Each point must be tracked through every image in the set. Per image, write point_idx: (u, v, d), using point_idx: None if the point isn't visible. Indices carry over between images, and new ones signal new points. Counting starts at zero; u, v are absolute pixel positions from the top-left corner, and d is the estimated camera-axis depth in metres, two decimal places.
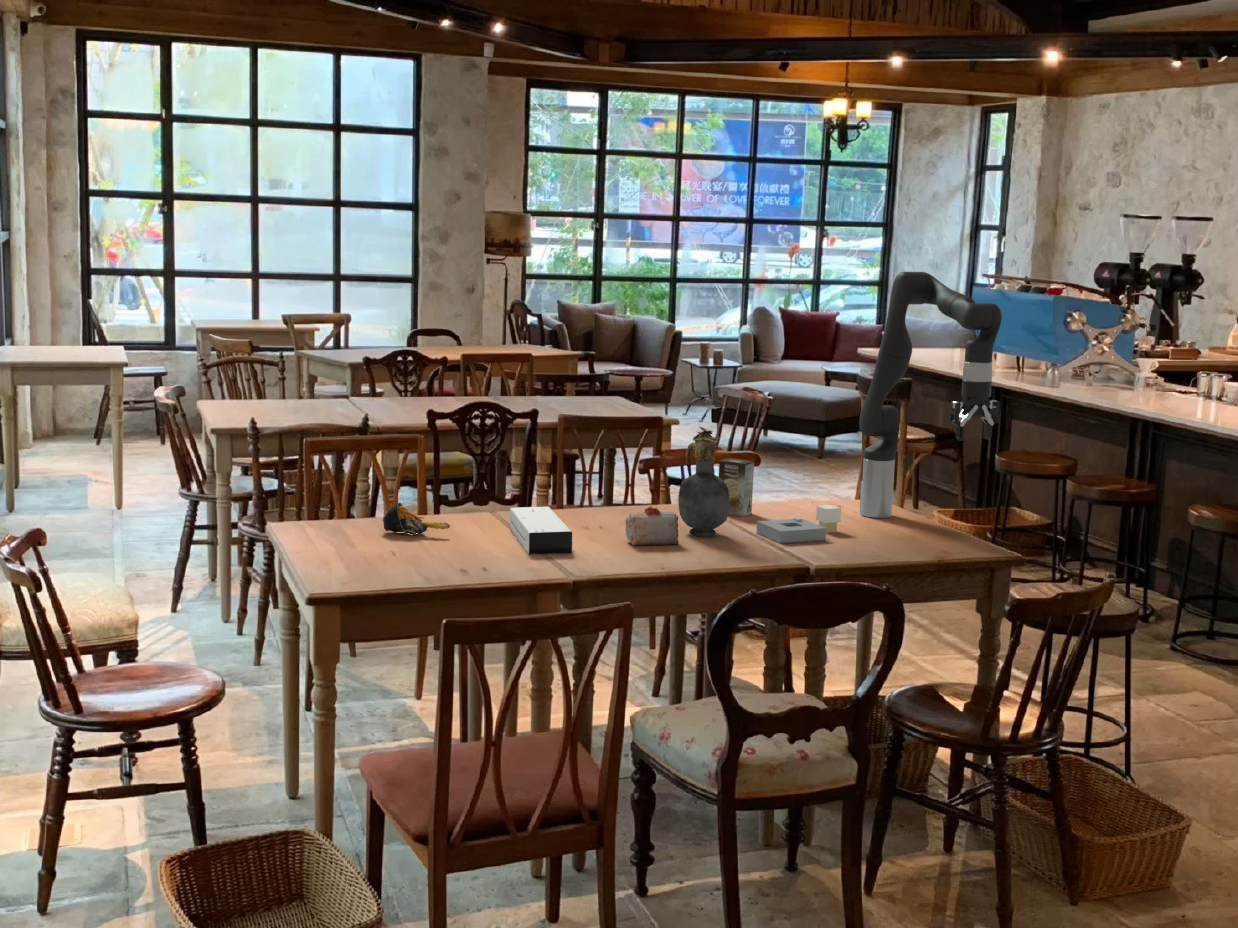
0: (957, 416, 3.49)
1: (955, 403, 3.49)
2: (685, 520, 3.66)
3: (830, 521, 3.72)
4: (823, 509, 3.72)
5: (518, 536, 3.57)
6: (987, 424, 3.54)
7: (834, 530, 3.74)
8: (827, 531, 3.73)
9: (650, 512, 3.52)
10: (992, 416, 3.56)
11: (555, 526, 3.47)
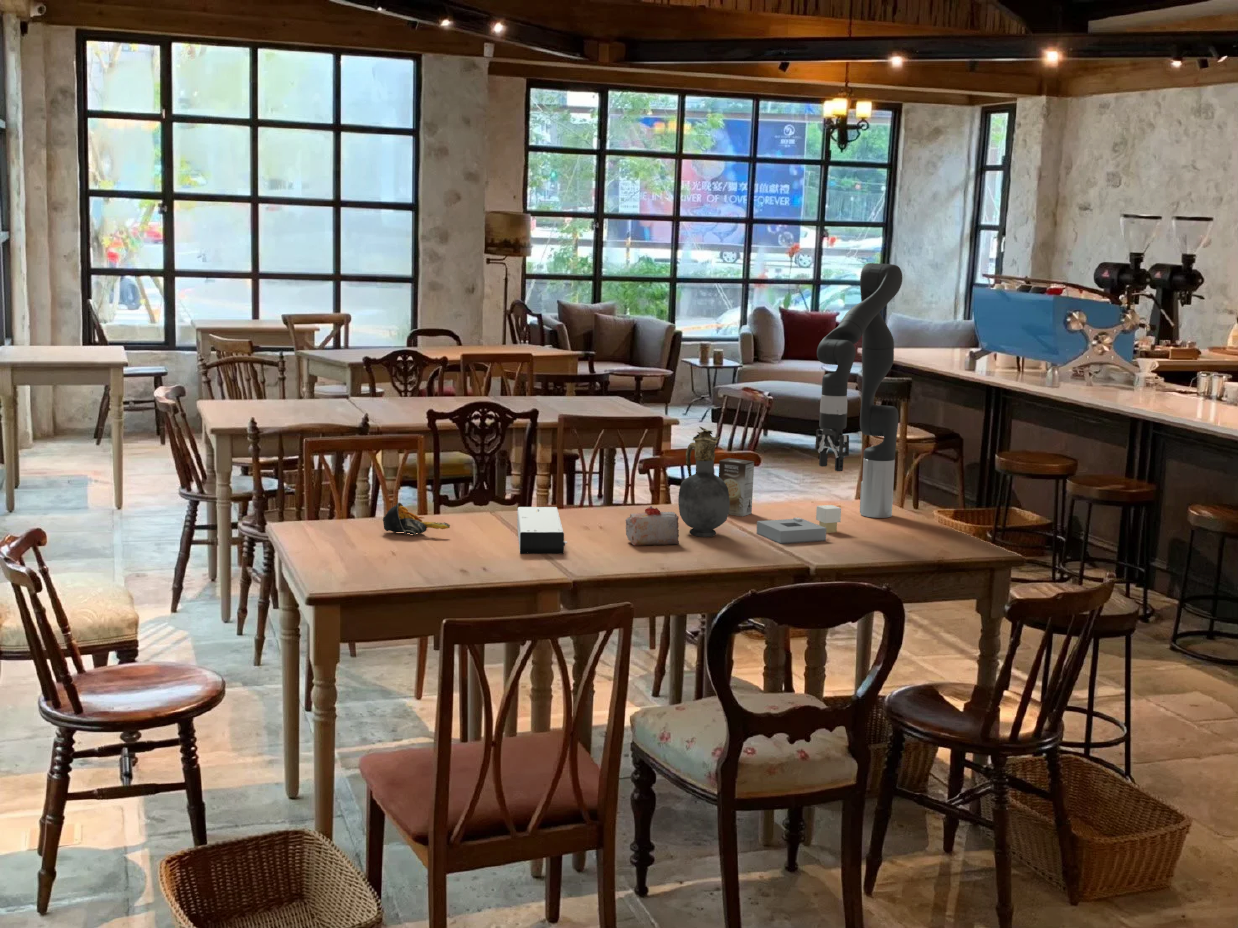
0: None
1: (846, 436, 3.65)
2: (685, 520, 3.66)
3: (830, 521, 3.72)
4: (823, 509, 3.72)
5: (518, 535, 3.57)
6: (824, 452, 3.76)
7: (834, 530, 3.74)
8: (827, 531, 3.73)
9: (650, 512, 3.52)
10: None
11: (550, 526, 3.46)
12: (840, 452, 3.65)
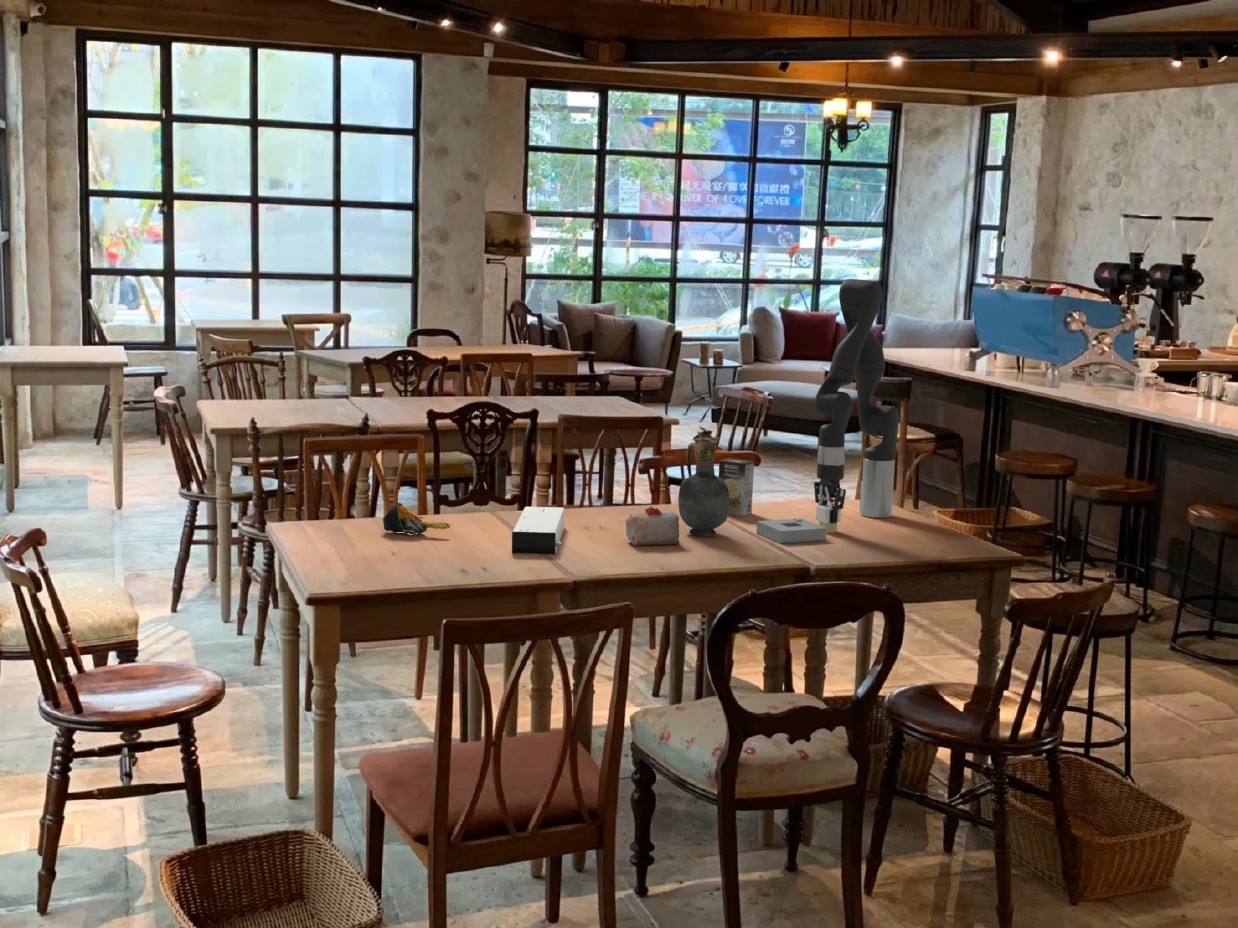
0: None
1: (843, 491, 3.67)
2: (685, 520, 3.66)
3: None
4: (823, 509, 3.72)
5: None
6: None
7: (834, 530, 3.74)
8: (827, 531, 3.73)
9: (651, 512, 3.52)
10: None
11: (545, 526, 3.46)
12: (834, 505, 3.69)
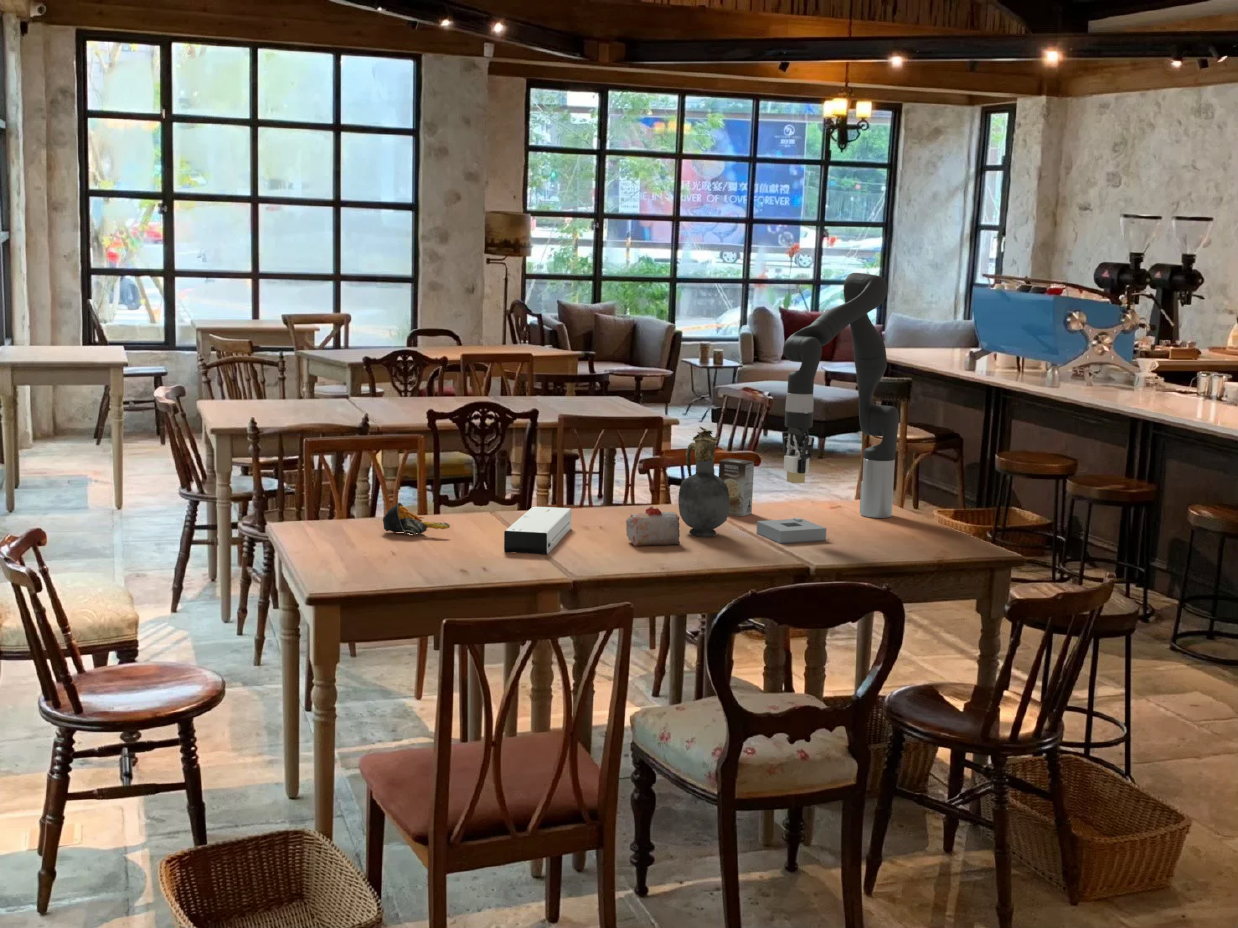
0: None
1: (811, 439, 3.56)
2: (685, 520, 3.66)
3: None
4: (791, 458, 3.61)
5: None
6: None
7: (802, 480, 3.63)
8: (795, 481, 3.62)
9: (651, 512, 3.52)
10: None
11: (540, 526, 3.46)
12: (802, 453, 3.58)
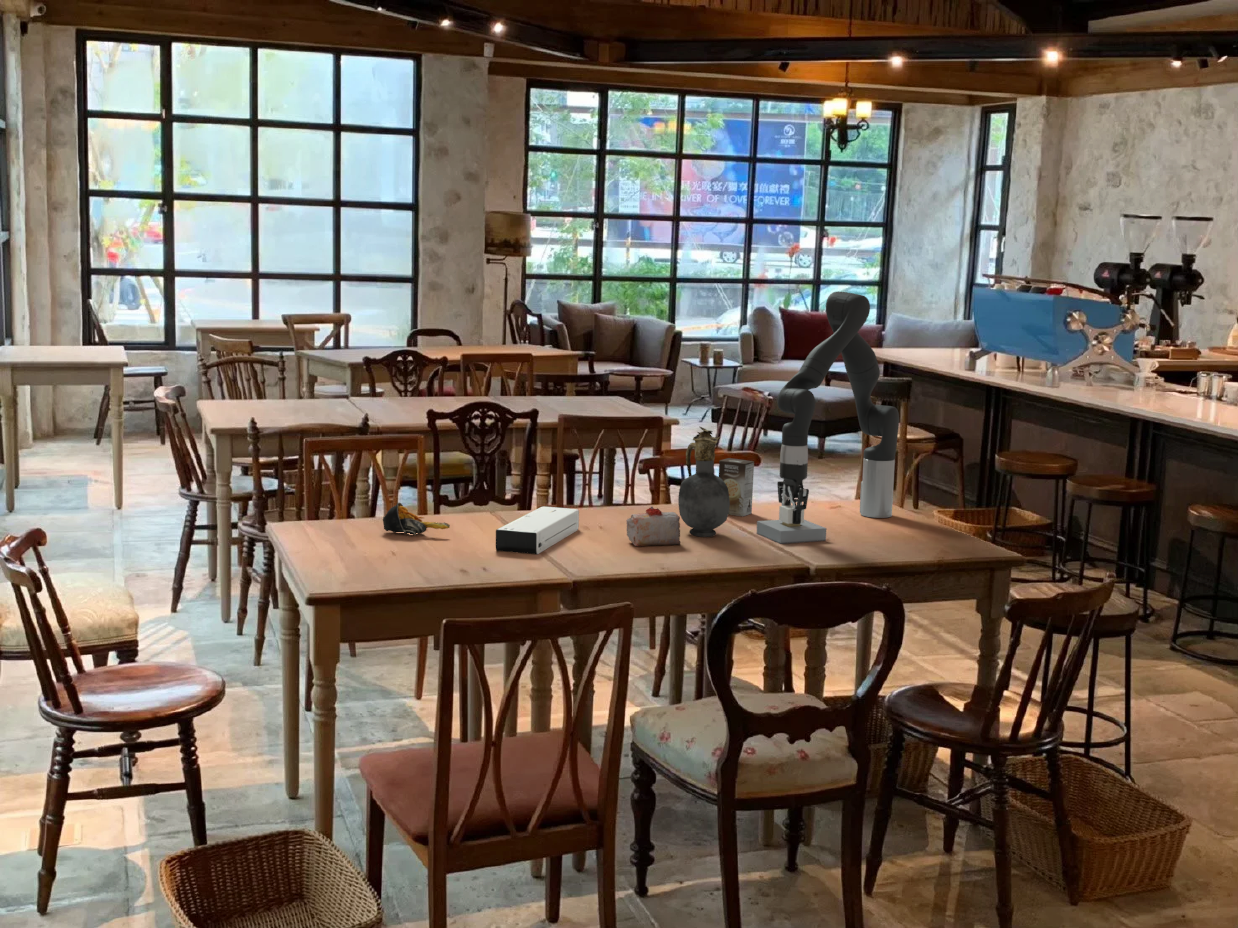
0: None
1: (806, 491, 3.58)
2: (685, 520, 3.66)
3: None
4: (786, 509, 3.63)
5: None
6: (787, 505, 3.68)
7: None
8: None
9: (652, 513, 3.52)
10: None
11: (533, 526, 3.46)
12: (797, 505, 3.60)
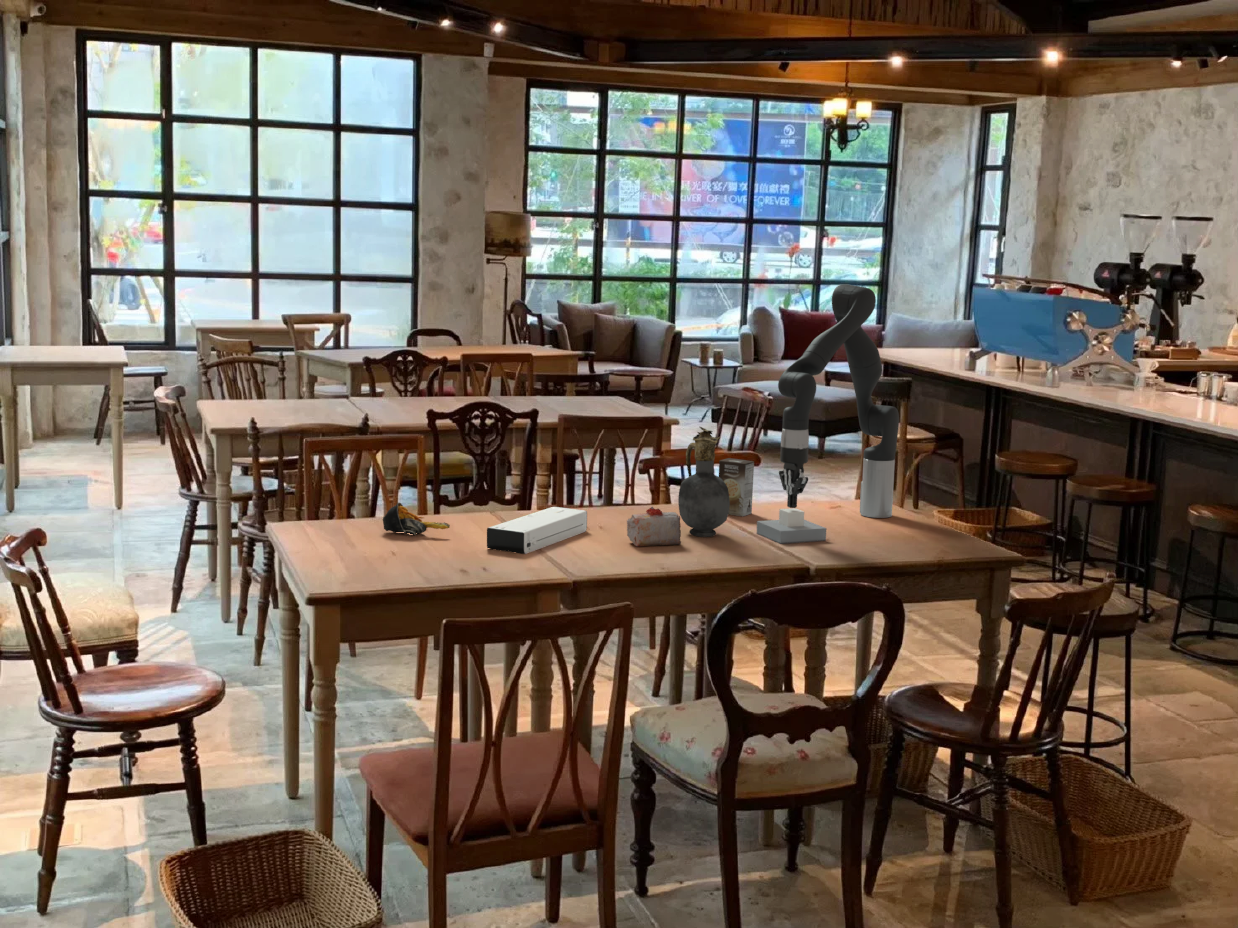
0: None
1: (805, 480, 3.59)
2: (685, 520, 3.66)
3: (793, 525, 3.63)
4: (786, 512, 3.63)
5: None
6: None
7: None
8: None
9: (653, 513, 3.51)
10: None
11: (526, 526, 3.46)
12: (793, 489, 3.61)
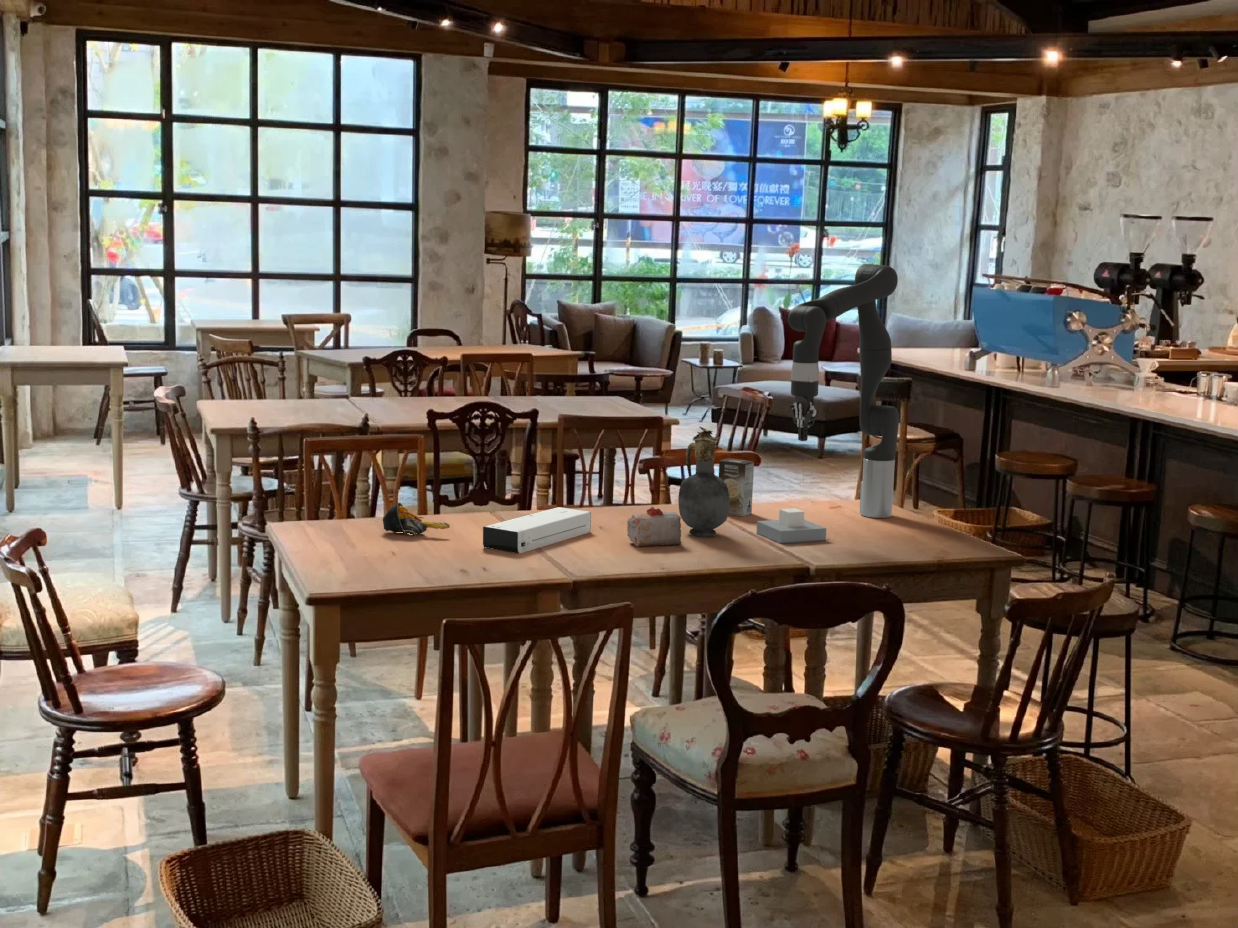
0: None
1: (816, 412, 3.63)
2: (685, 520, 3.66)
3: (793, 525, 3.63)
4: (786, 512, 3.63)
5: None
6: None
7: None
8: None
9: (653, 513, 3.51)
10: None
11: (522, 526, 3.46)
12: (804, 422, 3.66)
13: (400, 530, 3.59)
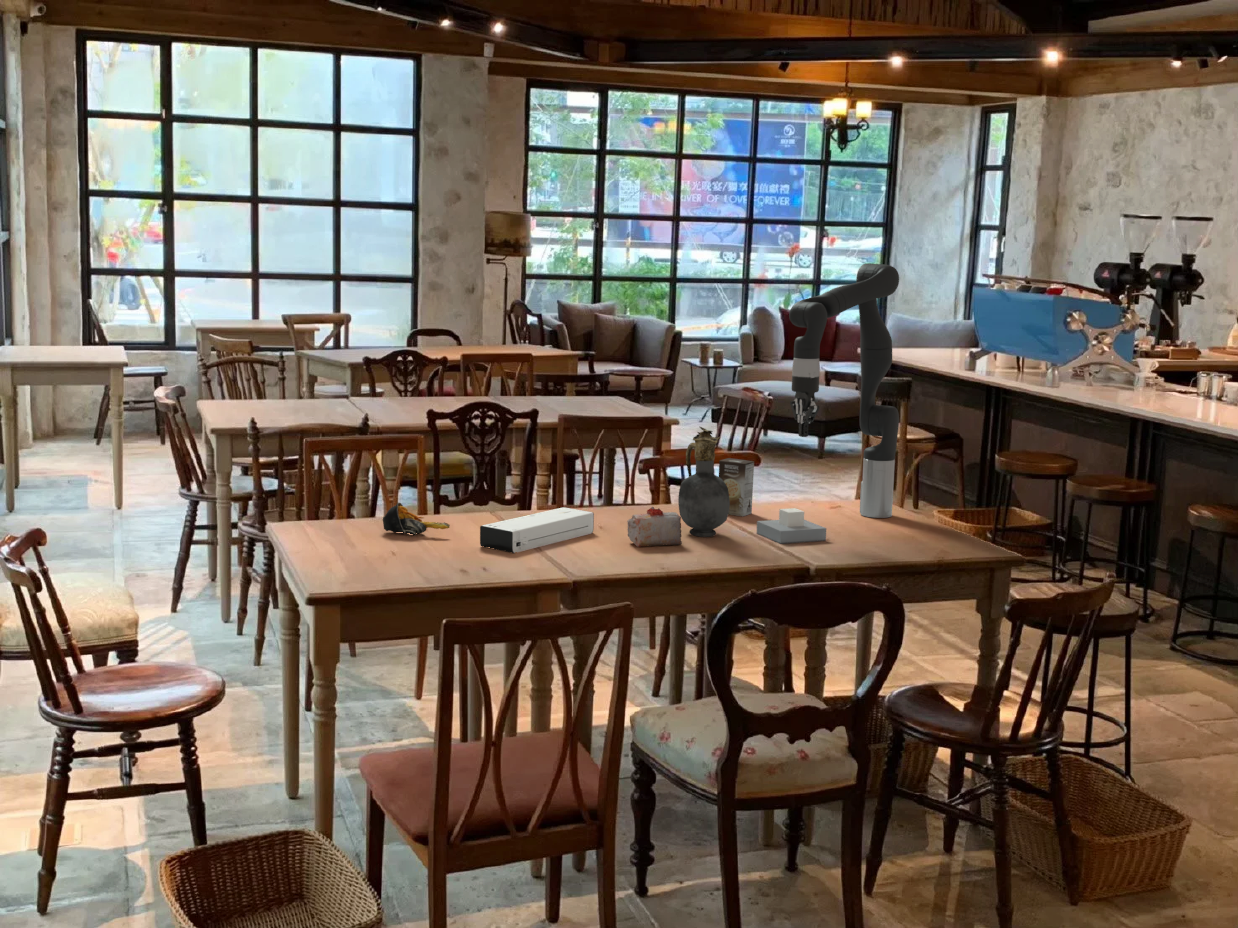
0: None
1: (816, 408, 3.63)
2: (685, 520, 3.66)
3: (793, 525, 3.63)
4: (786, 512, 3.63)
5: None
6: None
7: None
8: None
9: (653, 513, 3.51)
10: None
11: (519, 525, 3.47)
12: (805, 417, 3.66)
13: (400, 530, 3.59)
